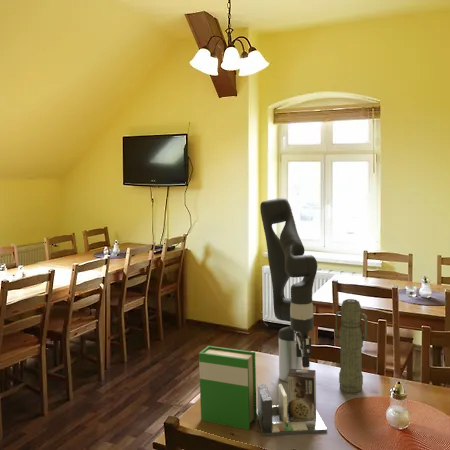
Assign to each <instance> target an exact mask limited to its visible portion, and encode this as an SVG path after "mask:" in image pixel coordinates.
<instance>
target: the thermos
mask: <svg viewBox="0 0 450 450" xmlns="http://www.w3.org/2000/svg"><path fill="white" fill-rule="evenodd" d="M338 316H340V321H341V323H340V327H339V331H338ZM334 317H335V321H334V322H335V325H334V326H335V327H334V329H335V330H334V331H335V332H334V333H335V334H334V335H335V338H336V339H337V340H338V344H339V345H338V346H339V348H340V370H339V373H338V383H339V390H340V391H341V392H342V393H345V394H348V395H357V394H361V393H362V392H363V385H364V376H363V372H362V371H363V370H362V364H363V363H362V361H363V360H362V349H363V347H364V342H366V340H367V339H368V316H367V315H366V313H364V312H362V306H361V303H360V301H359V300H357V299H353V298H347V299H344V300H342V303H341V306H340V311H339V310H338V311H337V312H336V313H335V315H334ZM362 318H363V319H364V321H363V322H364V324H363V325H364V327H363V328H364V329H362ZM363 330H364V331H363ZM338 333H339V334H338Z"/></svg>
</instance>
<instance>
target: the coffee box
mask: <svg viewBox="0 0 450 450" xmlns="http://www.w3.org/2000/svg"><path fill="white" fill-rule="evenodd" d="M316 372H317V371H316V370H315V369H305V368H304V369H303V368H302V369H290V370H289V373H288V376H287V379H288V382H287V405H288V421H296V420H311V419H314V420H315V422H316V410H317V386H316V385H317V384H316V383H317V381H316V377H317V376H316Z"/></svg>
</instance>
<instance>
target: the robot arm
mask: <svg viewBox="0 0 450 450" xmlns="http://www.w3.org/2000/svg"><path fill="white" fill-rule="evenodd" d="M259 208H260V217H261V222H262V226H263V231H264V235H265V242H266V243H265V244H266V250H267V260H268V266H269V272H270V278H271V284H272V300H273V301H272V302H273V303H272V305H273V312H274V316H275V318H276V319H277V320H279V321H284V322H289V323H290V325H289V326H286V327H282V328H280V329H279V331H278V374H279V375H278V378H279V379H280V380H281V381H283V382H285V383H288V379H287V376H288V373H289V370H290V369H303V368H309V367H310V358H311V357H312V355H313V354H312V338H311V337H310V335H309V334H308V333H309V332H311V331H312V330H314V304H313V287H314V283H315V279H316V276H317V271H318V260H317V259H316V257H315V256H313V255H312V254H305V252H306V251H305V246H304V245H303V242H302V239H301V238H300V235H299V233H298V231H297V230H298V229H297V225H296V221H295V218H294V215H293V210H292V208H291V204H290V203H289V201H288V199H287V198H285V197H280V198H273V199H267V200H263V201H261V203H260V206H259ZM284 222H285V223H284ZM280 223H284V225H283V228H282V230H281V231H280V235H279V236H277V234H276V232H275V230H274V229H273V225H276V224H280ZM290 278H295V279H296V278H302V280H301V281H299V282H296V283H293V284H292V285H291V286H290V298H289V297H286V296H285V288H286V284H287V283H288V282H289V280H290ZM306 351H307V352H306Z"/></svg>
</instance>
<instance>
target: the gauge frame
mask: <svg viewBox="0 0 450 450" xmlns="http://www.w3.org/2000/svg"><path fill="white" fill-rule="evenodd" d="M256 413H257V420H258V425H259V427H260V430H261V434H262V437H273V436H274V437H276V436H290V435H302V434H303V435H305V434H317V433H318V434H319V433H328V428H327V426H326V425H325V423H324V420H323V418H322V417H321V415H320V414H319V412H318V410H317V409H316V422H315V420H314V419H311V420H296V421H288V427H286V421H282V419H281V417H280V414H279V404H277V405H276V404H275V405H273V399H272V396H271V393H270V391H269V389H268V386H267V384H266V383H265V384H264V383H263V384H257V408H256ZM287 420H288V404H287Z"/></svg>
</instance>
